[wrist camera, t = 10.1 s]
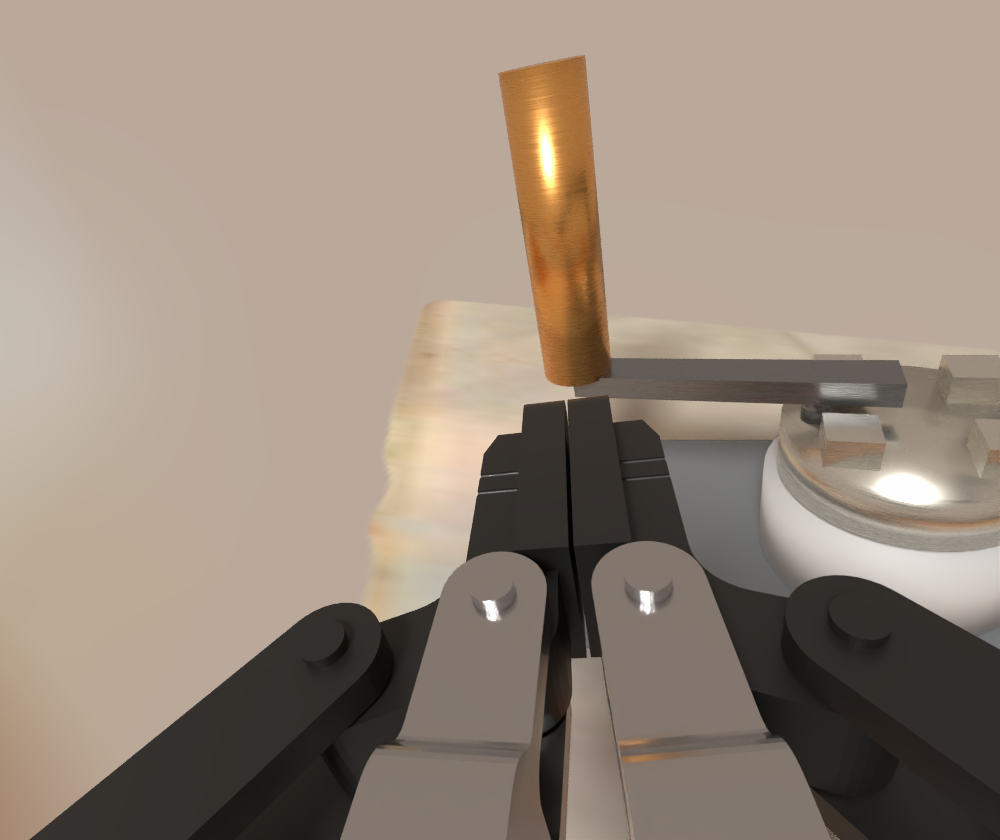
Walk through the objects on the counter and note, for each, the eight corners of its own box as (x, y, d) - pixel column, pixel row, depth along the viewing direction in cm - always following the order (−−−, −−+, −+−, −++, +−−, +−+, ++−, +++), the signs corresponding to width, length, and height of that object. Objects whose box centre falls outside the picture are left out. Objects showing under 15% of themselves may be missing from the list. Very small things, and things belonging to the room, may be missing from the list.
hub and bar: (1001, 414, 25) (1168, -67, 16) (1091, 569, 18) (1460, -112, 10) (579, 399, 32) (538, 61, 24) (531, 506, 26) (448, 87, 17)
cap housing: (940, 457, 31) (964, 375, 28) (1085, 701, 20) (1148, 605, 17) (576, 454, 37) (567, 386, 34) (533, 641, 26) (515, 562, 23)
